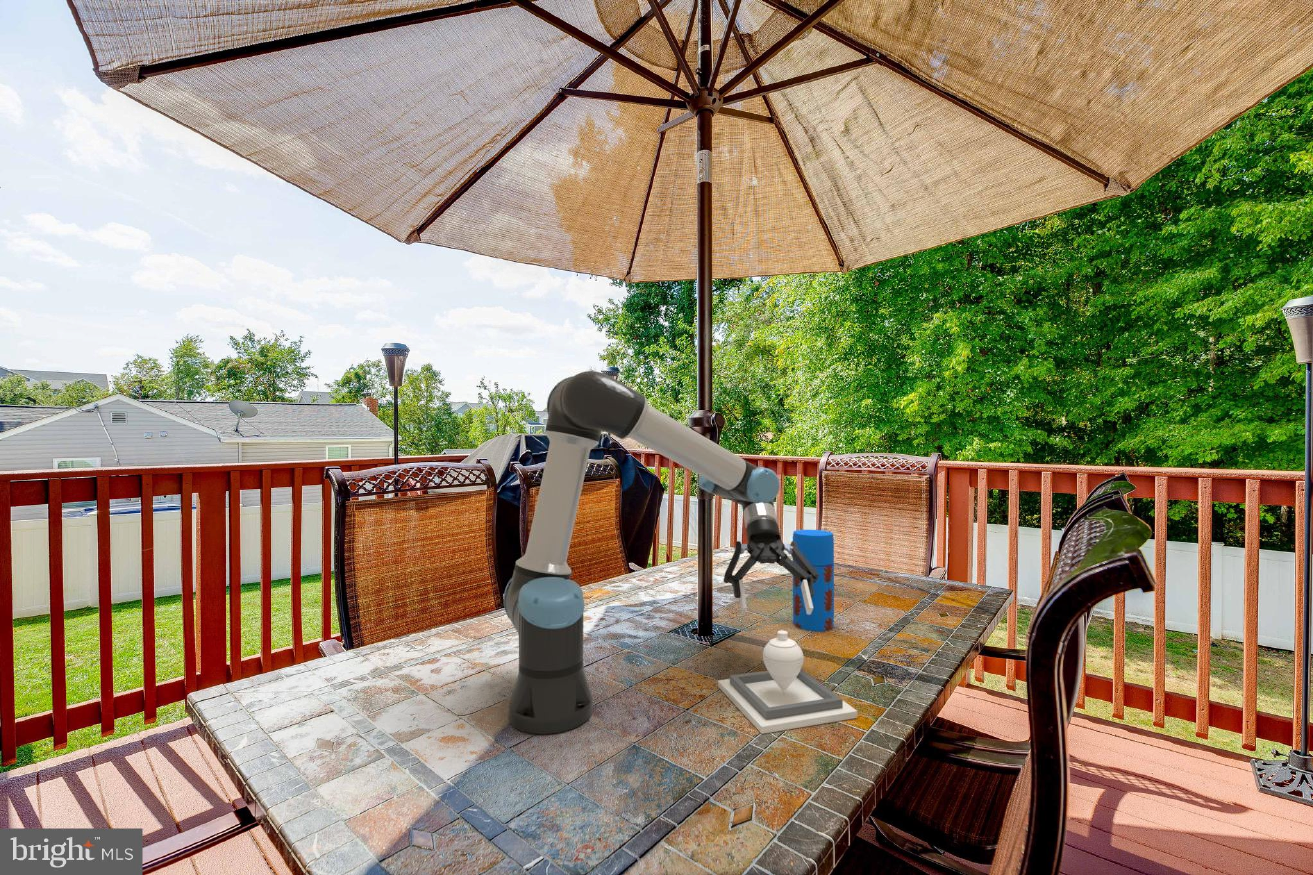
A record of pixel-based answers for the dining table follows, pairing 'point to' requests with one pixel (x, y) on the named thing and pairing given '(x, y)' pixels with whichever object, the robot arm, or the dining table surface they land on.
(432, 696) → the dining table surface
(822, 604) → the thermos
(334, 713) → the dining table surface
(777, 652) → the spinning top
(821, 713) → the dock plate
